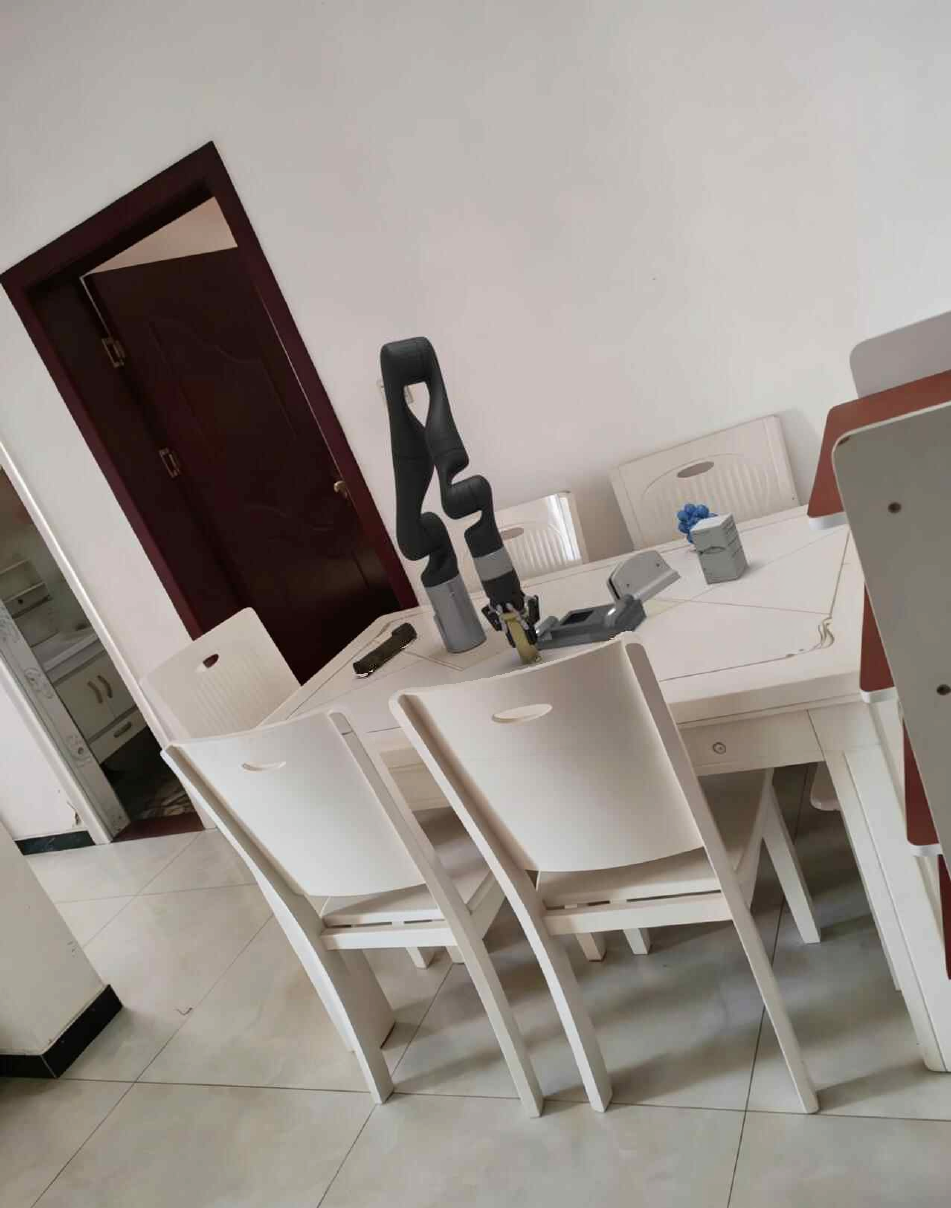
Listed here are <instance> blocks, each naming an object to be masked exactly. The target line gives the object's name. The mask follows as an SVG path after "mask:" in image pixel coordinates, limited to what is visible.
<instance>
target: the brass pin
mask: <svg viewBox="0 0 951 1208" xmlns="http://www.w3.org/2000/svg"><path fill="white" fill-rule="evenodd" d="M518 612H519V611H518ZM524 612H525V609H523V610H522V611H521V612H519V613H520V614H521V615H522V614H523V613H524ZM500 616H501V619H502V620H505V621H506V623H507V626H508V628H509V631H510V633H511V636H512V638H513V641H514V643H515V646H516V648H515V649H516V650H517V654H518V655H519V657H520V660H521V663H522V665H523V664H524V666H526V665H525V664H529V665H531V663H532V662H535V661H536V660H537V659H538V658H540V659H541V655H540V653H539V650H537V647H536V645H530V644H529V641H528V639H527V636H526V634H525V631H524V630H525V629H524V627H523V626H522V624H521V623H520V622H519V621H517V620H516V617H517V615H516V613H515V612H505V613H504V614H500ZM535 663H536V662H535ZM532 664H533V663H532Z"/></svg>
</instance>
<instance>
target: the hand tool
mask: <svg viewBox="0 0 951 1208" xmlns="http://www.w3.org/2000/svg"><path fill="white" fill-rule="evenodd" d="M390 634H391V636H390V637H389V638H388V639H385V641H384V642H382V643H381V644H379V646H376V647H375V648H374V649H373V650H371V651H369V652H368V653H367V654H366V655H364V656H363V657H362V658H361V659H358V660H357V661H354V662H353V663H352V669H353V670H354V672H355V674H364V673H369V671H371V670H373V669H374V668H375V667H376V668H377V667H378V666H377V665H379V664H380V663H381V662H382V663H383V661H384V660H385V661H386V659H387V658H388V659H389V658H390V657H392V656H393V655H394V654H395V653H397V652H398V651H400V650H402V649H401V648H402V647H404V646H406V645H407V644H409V643H410V642H411V641H412V640H413V639H414V638H416V639H417V637H418V633H417V631H416V629H415V628H414V626H413V625H412V624H411V623H410V622H404V623H402V624H400V625H399V626H398V627H396V628H394V629H393V630H392V631H391V633H390ZM416 636H417V637H416ZM391 655H392V656H391ZM388 659H387V660H388ZM385 661H384V662H385ZM382 663H381V664H382ZM381 664H380V665H381ZM380 665H379V666H380ZM376 668H375V669H376ZM375 669H374V670H375ZM374 670H373V671H374ZM369 674H370V673H369Z"/></svg>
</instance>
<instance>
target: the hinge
mask: <svg viewBox="0 0 951 1208" xmlns="http://www.w3.org/2000/svg"><path fill="white" fill-rule="evenodd" d="M680 578H681V575H680V574H679V572H678V571H677V570H676V569H674V568H673V569H672V568H671V566H670V565H669V564H668V562H667V561H666V560H665V559H664V557H663V556H662V555H661V554H660V552H658V550H656V549H650V550H646V551H642V552H639V553H636V554H634V555H632V556H630V557H628V558H627V559H625V560H624V561H622V562H621V563H619V565H617V566H616V568H614V570H613V571H612V572H611V573H610V575H609V577H607V579H606V581H605V584H606V587H607V588H608V591H609V593H610V595H611V596H612V599H613V601H614V603H616V602H617V601H618V600H619V599H620V598H621V597H622V596H623V595H624V594H631V595H632V596H633V597H634V598H635V600H637V599H640V600H641V603H642V605H643V604H644V603H646V602H647V601H649V600H650V599H652V598H653V597H655V596H656V595H657V594H659V593H660V592H662V591H663V590H664V589H666V588H668V587H669V586H670V585H672V584H673V583H675V582H676V581H678V580H679V579H680Z"/></svg>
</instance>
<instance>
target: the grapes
mask: <svg viewBox="0 0 951 1208" xmlns="http://www.w3.org/2000/svg"><path fill="white" fill-rule="evenodd" d="M683 509H684V510H683ZM683 509H680V510H679V511H677V514H676V516H677V519H678V520H679V521H680V522H679V523H678V525H677V528H678V530H679V531H680V533H682V534H685V535H686V534H687V535H686V541H687V543H689V544H692V545H694V543H693V540H692V537H691V534H690V530H691V529H692V528H693V527H694V526H695V525H696V524H697V523H698V522H699V521H700V520H702V519H706V518H711V517H717V516H719V514H716V513H715V512H710V509H709V508H708V507H707V506H706V505H705V504H698V505H695V504H693V503H685V505H684V506H683Z"/></svg>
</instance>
